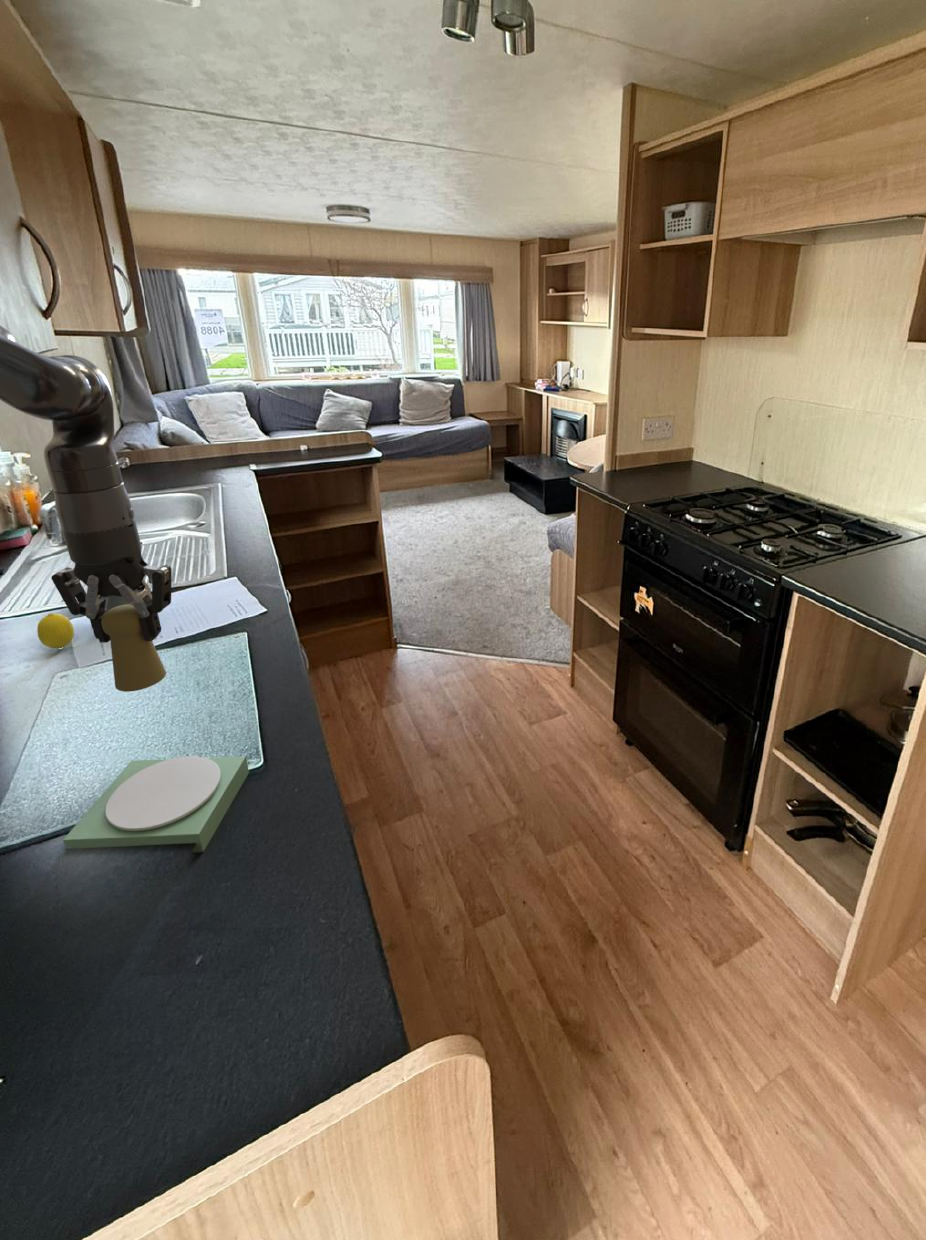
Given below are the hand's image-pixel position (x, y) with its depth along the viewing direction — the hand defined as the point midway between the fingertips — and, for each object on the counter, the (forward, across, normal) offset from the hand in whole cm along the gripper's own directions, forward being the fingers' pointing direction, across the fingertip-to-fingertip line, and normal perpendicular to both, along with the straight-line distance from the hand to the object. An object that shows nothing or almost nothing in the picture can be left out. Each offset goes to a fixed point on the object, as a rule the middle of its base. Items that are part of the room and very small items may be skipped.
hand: (130, 638), depth 80 cm
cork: (+7, 0, 0) cm, 7 cm away
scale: (+22, +5, -9) cm, 24 cm away
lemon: (+22, -38, +37) cm, 57 cm away
